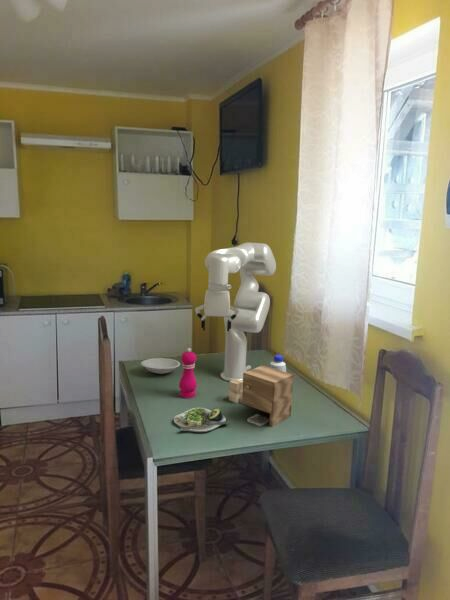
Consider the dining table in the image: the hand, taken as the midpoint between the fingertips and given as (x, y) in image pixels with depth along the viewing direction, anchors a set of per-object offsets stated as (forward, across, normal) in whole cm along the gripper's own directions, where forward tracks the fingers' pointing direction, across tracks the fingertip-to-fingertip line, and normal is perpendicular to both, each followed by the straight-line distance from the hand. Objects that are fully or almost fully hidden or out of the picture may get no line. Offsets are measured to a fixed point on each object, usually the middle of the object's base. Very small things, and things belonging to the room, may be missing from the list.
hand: (216, 330), depth 198 cm
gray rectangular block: (+28, -16, +22) cm, 40 cm away
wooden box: (+28, -20, +17) cm, 38 cm away
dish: (+28, +23, -25) cm, 44 cm away
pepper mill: (+28, +10, 0) cm, 30 cm away
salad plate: (+29, +5, +24) cm, 38 cm away
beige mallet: (+28, -16, +10) cm, 34 cm away
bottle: (+28, -25, +6) cm, 38 cm away
